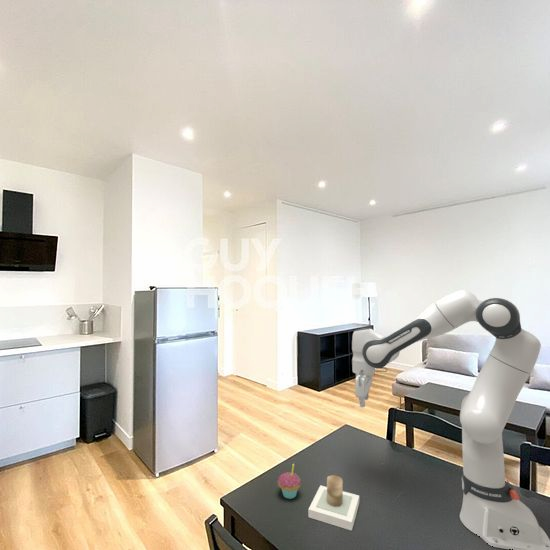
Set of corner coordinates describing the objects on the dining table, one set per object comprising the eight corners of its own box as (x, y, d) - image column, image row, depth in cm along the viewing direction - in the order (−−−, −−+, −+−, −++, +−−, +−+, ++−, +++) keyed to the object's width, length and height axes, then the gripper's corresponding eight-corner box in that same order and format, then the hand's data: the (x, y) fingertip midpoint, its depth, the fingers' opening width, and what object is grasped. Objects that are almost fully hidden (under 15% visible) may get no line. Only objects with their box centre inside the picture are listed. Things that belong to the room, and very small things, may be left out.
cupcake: (305, 492, 112) (304, 458, 113) (293, 505, 105) (293, 469, 106) (285, 484, 117) (285, 452, 118) (272, 496, 110) (272, 462, 111)
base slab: (359, 503, 106) (359, 494, 106) (351, 530, 94) (351, 521, 94) (320, 492, 112) (320, 484, 112) (308, 517, 99) (308, 508, 100)
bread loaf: (344, 499, 104) (344, 477, 105) (340, 508, 100) (340, 485, 100) (329, 494, 106) (329, 473, 107) (324, 503, 102) (325, 481, 102)
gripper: (367, 374, 113) (368, 413, 112) (374, 363, 132) (375, 396, 131) (350, 372, 116) (351, 410, 115) (359, 362, 134) (360, 394, 133)
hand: (364, 403), depth 123 cm, fingers open, 8 cm apart
